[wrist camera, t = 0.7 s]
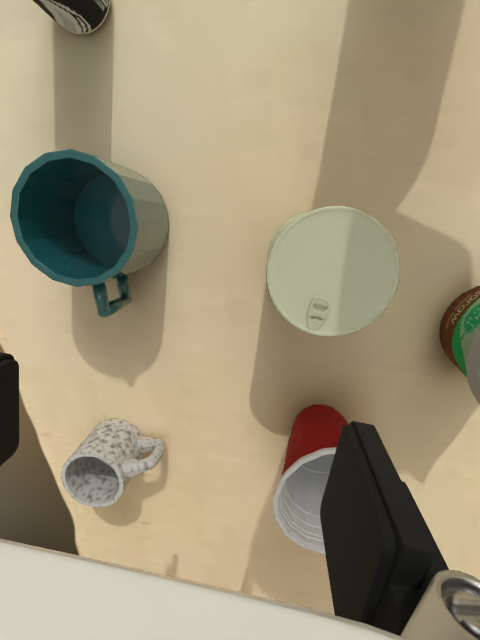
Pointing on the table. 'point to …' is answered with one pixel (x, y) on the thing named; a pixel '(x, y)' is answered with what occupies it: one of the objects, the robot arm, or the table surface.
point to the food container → (464, 336)
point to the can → (332, 270)
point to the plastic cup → (307, 475)
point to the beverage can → (76, 13)
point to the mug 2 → (108, 462)
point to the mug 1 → (88, 222)
